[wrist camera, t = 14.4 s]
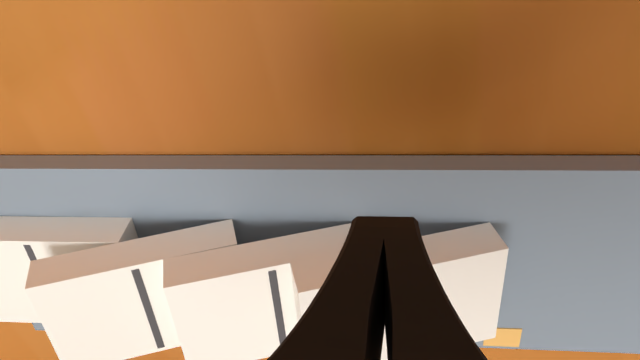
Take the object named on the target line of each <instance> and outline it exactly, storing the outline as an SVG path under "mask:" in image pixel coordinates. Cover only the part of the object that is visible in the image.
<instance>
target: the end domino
mask: <svg viewBox="0 0 640 360" xmlns="http://www.w3.org/2000/svg"><path fill="white" fill-rule="evenodd" d="M133 239H138V236H137V232H136V229H135V226H134V223H133V220H132V218H125V217H29V216H0V322H29V323H41V321H40V319H39V317H38V315H37V313H36V311H35V309H34V307H33V305H32V303H31V301H30V299H29V297H28V295H27V293H26V291H25V285H26V281H27V276H28V271H29V266H30V261H33V260H38V259H42V258H47V257H52V256H57V255H62V254H66V253H71V252H76V251H81V250H85V249H90V248H95V247H100V246H105V245H109V244H114V243H119V242H124V241H129V240H133Z"/></svg>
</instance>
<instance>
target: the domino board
mask: <svg viewBox="0 0 640 360" xmlns="http://www.w3.org/2000/svg"><path fill="white" fill-rule="evenodd" d="M0 216H29V217H125V218H132V220H133V223H134V226H135V229H136V232H137V236H138V238H143V237H148V236H153V235H157V234H162V233H167V232H172V231H177V230H181V229H186V228H191V227H196V226H200V225H205V224H210V223H215V222H220V221H224V220H229V219H232V222H233V227H234V231H235V236H236V241H237V245H240V244H245V243H250V242H255V241H261V240H266V239H271V238H276V237H281V236H287V235H292V234H297V233H302V232H307V231H313V230H318V229H323V228H328V227H333V226H339V225H344V224H349V223H352V220H353V219H354V218H356V217H357V216H387V217H414V218H415V219H416V220H417V221H418V223H419V229H420V233H421V236H425V235H430V234H434V233H439V232H444V231H449V230H454V229H459V228H464V227H469V226H474V225H478V224H483V223H488V222H490V223H491V225H492V226H493V227H494V229H495V230H496V232H497V233H498V234H499V236H500V237H501V238H502V240H503V241H504V243H505V244H506V245H507V247H508V248H509V250H508V257H507V264H506V270H505V277H504V284H503V290H502V297H501V304H500V310H499V317H498V324H497V330H496V337H495V338H492V339H487V340H483V341H479V342H475V343H476V344H477V346H478V347H482V348H507V349H533V350H558V351H584V352H610V353H635V354H640V155H0ZM32 324H33V326H34V328H35V330H45V329H44V327H43V325H42V323H32Z"/></svg>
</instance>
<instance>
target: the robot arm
mask: <svg viewBox="0 0 640 360" xmlns="http://www.w3.org/2000/svg"><path fill="white" fill-rule="evenodd" d="M384 329H385V333H386V345H387V358H388V360H487V358H486V357H485V356H484V354H483V353H482V351H481V350H480V348H479V347H478V346H477V344H476V343H475V341H474V340H473V338H472V337H471V335H470V334H469V332H468V331H467V329H466V328H465V326H464V324H463V323H462V321H461V319H460V318H459V316H458V314H457V313H456V311H455V309H454V307H453V306H452V304H451V302H450V300H449V298H448V296H447V295H446V293H445V291H444V289H443V287H442V285H441V283H440V281H439V278H438V276H437V274H436V272H435V270H434V268H433V266H432V263H431V261H430V259H429V256H428V253H427V251H426V248H425V245H424V243H423V240H422V236H421V233H420V229H419V223H418V221H417V220H416V219H415V218H414V217H387V216H357V217H356V218H354V219H353V220H352V223H351V227H350V229H349V232H348V235H347V237H346V240H345V242H344V244H343V247H342V249H341V251H340V253H339V255H338V257H337V259H336V261H335V263H334V265H333V266H332V268H331V270H330V272H329V274H328V276H327V278H326V279H325V281H324V283H323V285H322V286H321V288H320V289H319V291H318V292H317V294H316V296H315V297H314V299H313V300H312V302H311V303H310V305H309V307H308V308H307V310H306V311H305V313H304V314H303V315H302V317H301V318H300V320H299V321H298V322H297V324H296V325H295V326H294V328H293V329H292V330H291V332H290V333H289V334H288V335H287V337H286V338H285V339H284V341H283V342H282V343H281V344H280V345H279V347H278V348H277V349H276V350H275V351H274V352H273V354H272V355H271V356H270V357H269V358H268V359H267V360H381V353H382V345H383V337H384Z"/></svg>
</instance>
